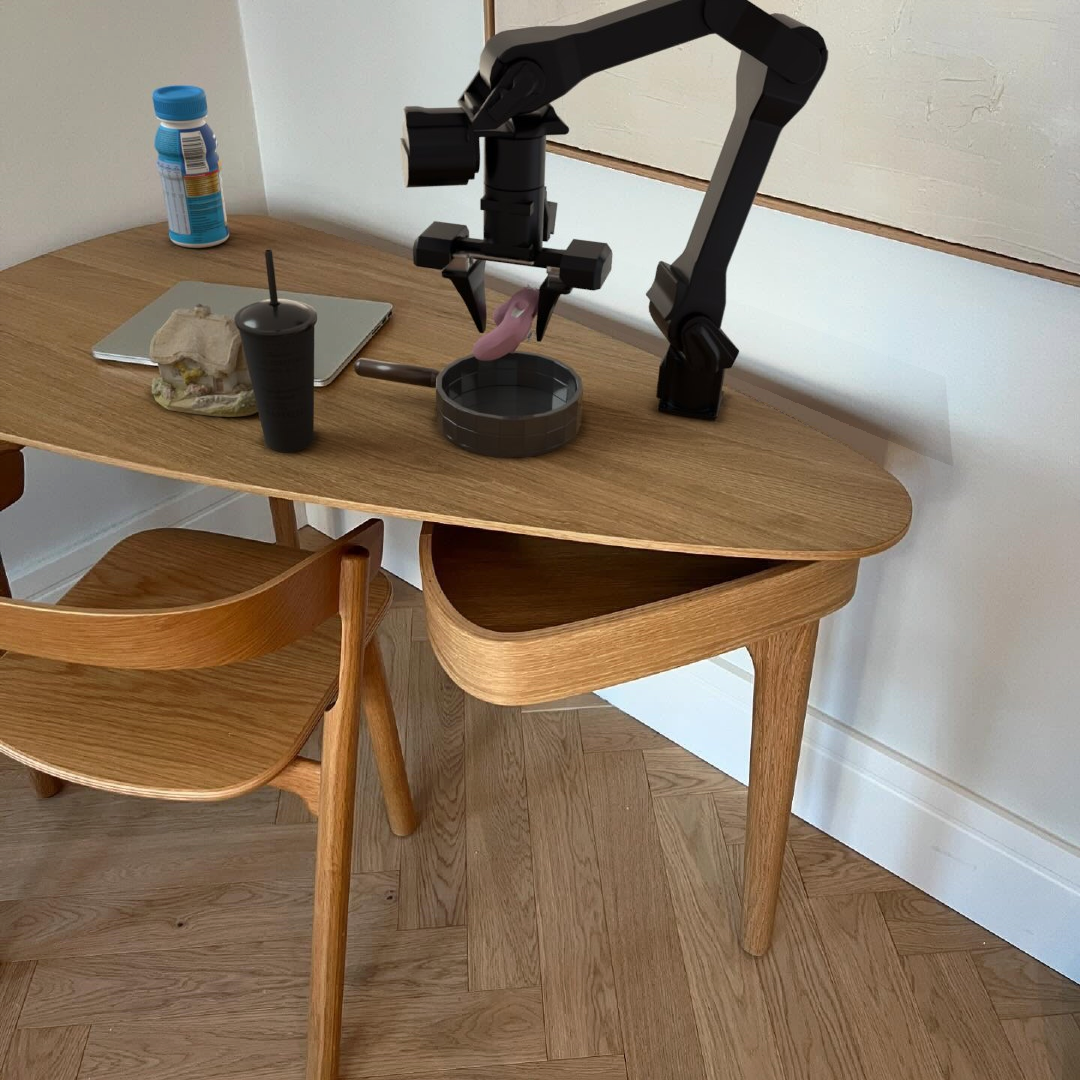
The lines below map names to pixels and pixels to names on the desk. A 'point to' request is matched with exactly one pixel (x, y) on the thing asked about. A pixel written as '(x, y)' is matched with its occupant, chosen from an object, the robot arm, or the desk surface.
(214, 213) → the beverage bottle
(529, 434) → the pan
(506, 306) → the video game controller
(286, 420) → the drinking cup
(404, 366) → the pan handle
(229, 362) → the ceramic model
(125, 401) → the desk surface
